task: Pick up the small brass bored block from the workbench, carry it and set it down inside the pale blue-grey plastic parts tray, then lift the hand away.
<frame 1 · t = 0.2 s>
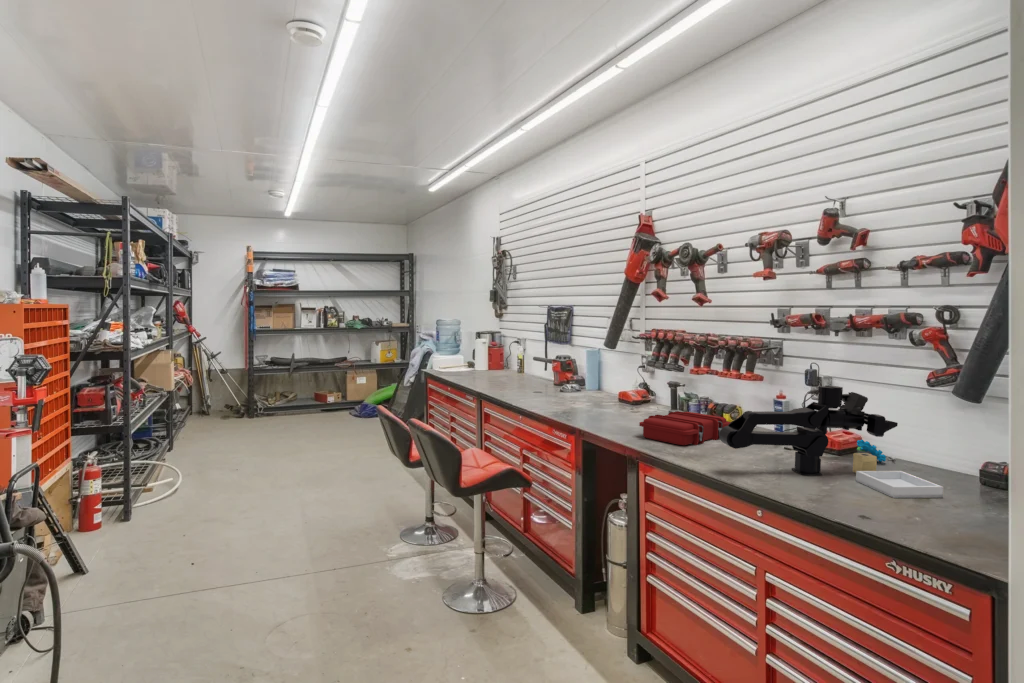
hand: (886, 420, 183), 16 cm above the workbench, fingers open, 9 cm apart
blue plastic figure: (869, 461, 198), on the workbench
parts tray: (897, 488, 166), on the workbench
brass block: (864, 473, 182), on the workbench
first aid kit: (684, 438, 234), on the workbench
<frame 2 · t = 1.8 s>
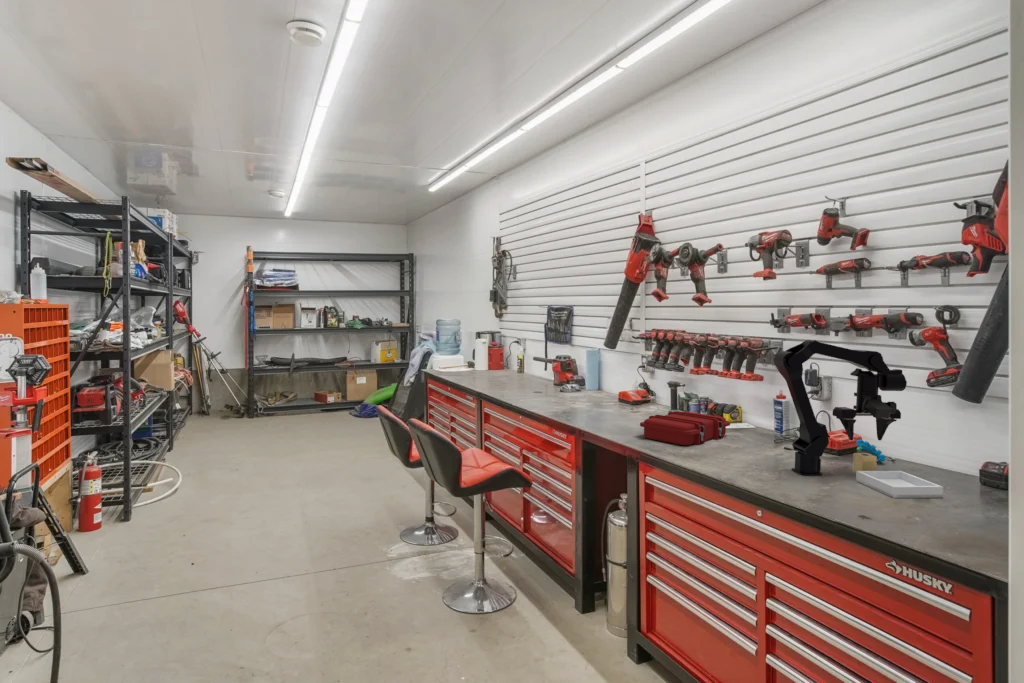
hand: (865, 440, 182), 11 cm above the workbench, fingers open, 9 cm apart
nothing on the workbench moved.
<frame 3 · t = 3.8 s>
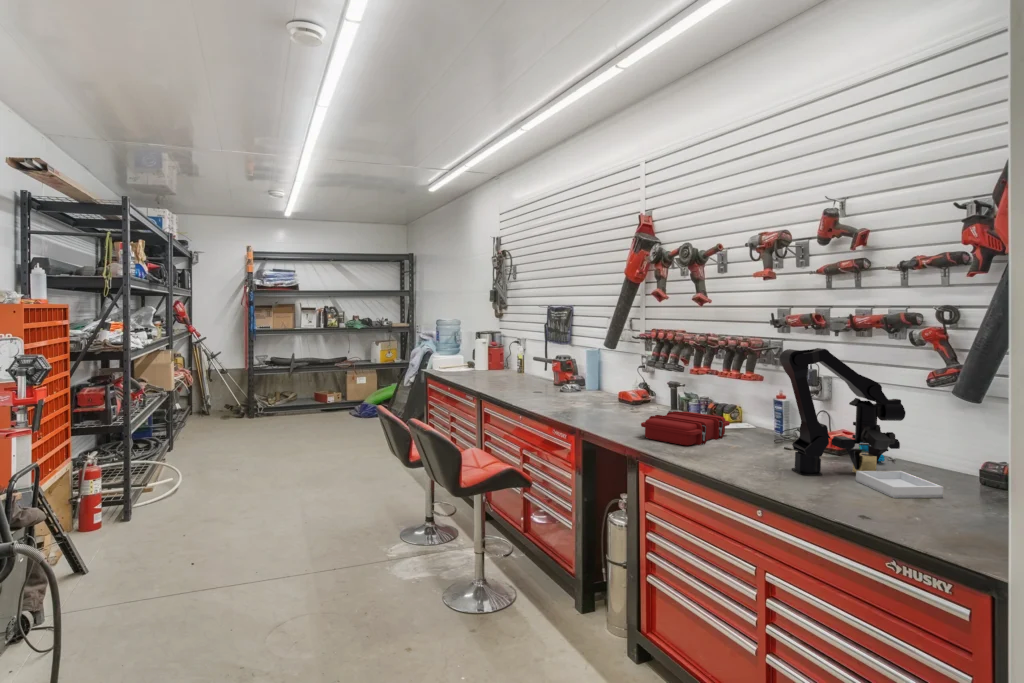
hand: (864, 469, 182), 1 cm above the workbench, fingers closed on brass block, 4 cm apart
brass block: (864, 473, 182), on the workbench, touching gripper
everything else where it was.
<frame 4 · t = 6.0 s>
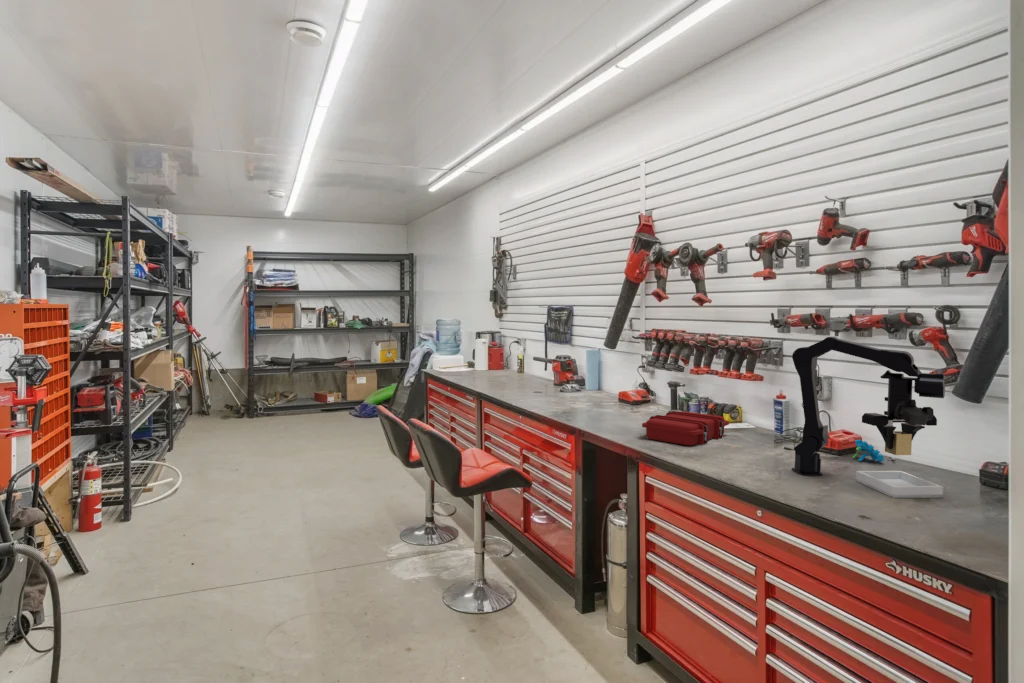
hand: (897, 449, 167), 11 cm above the workbench, fingers closed on brass block, 4 cm apart
brass block: (897, 453, 167), point 10 cm above the workbench, touching gripper
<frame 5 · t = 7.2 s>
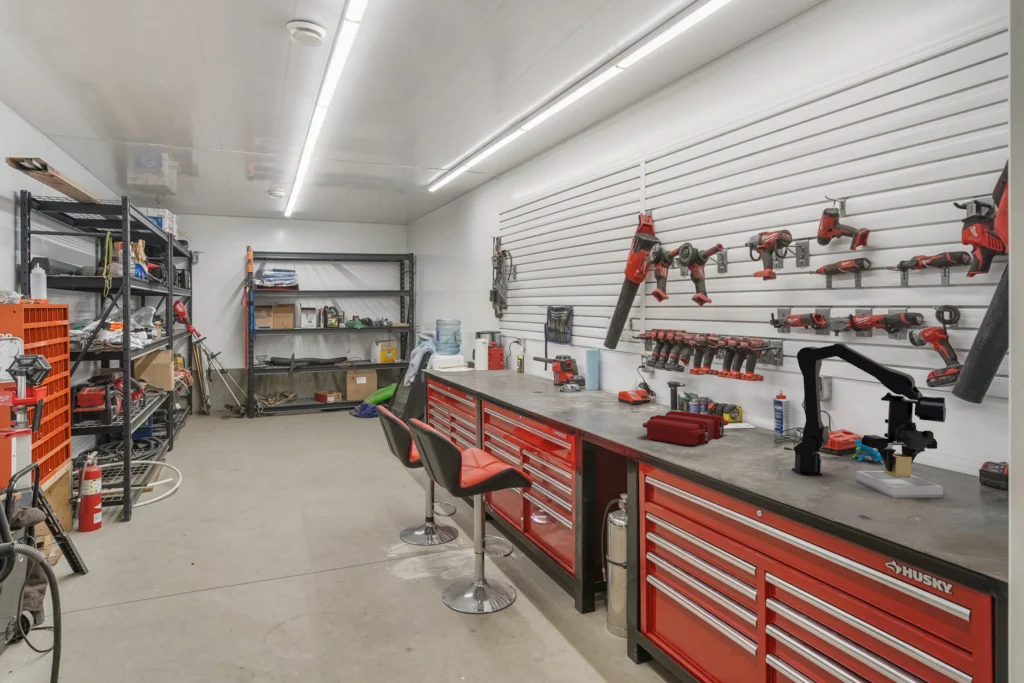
hand: (897, 471, 166), 5 cm above the workbench, fingers closed on brass block, 4 cm apart
brass block: (897, 475, 166), point 4 cm above the workbench, touching gripper
when the fingers open (3 cm above the workbench, at t = 8.3 s): brass block drops 1 cm, resting on parts tray.
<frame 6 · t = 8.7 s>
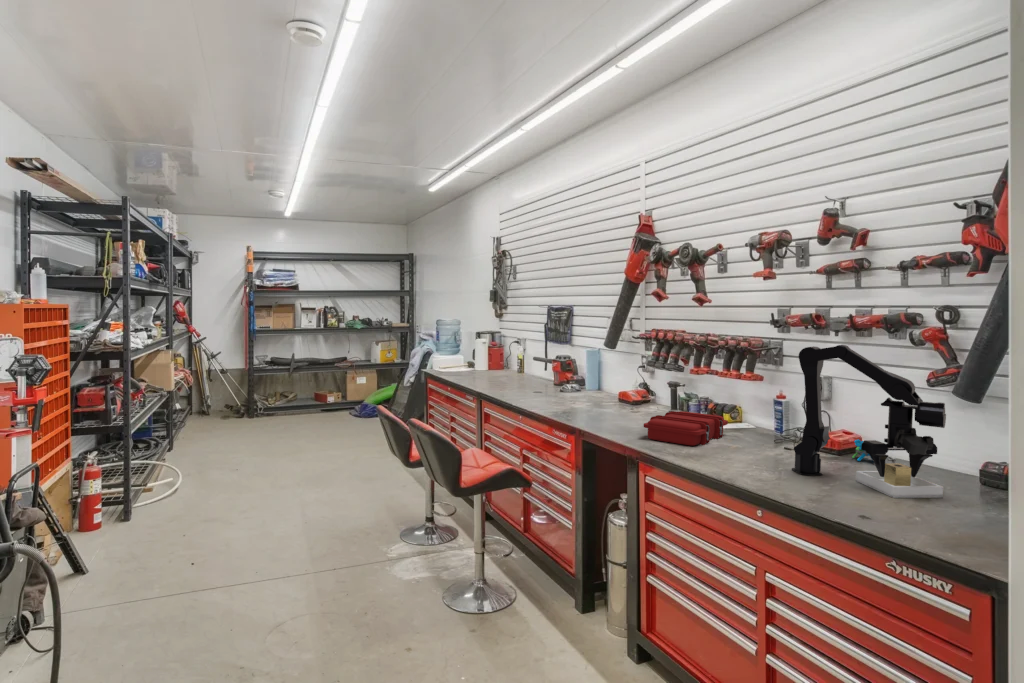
hand: (897, 476, 166), 3 cm above the workbench, fingers open, 9 cm apart
brass block: (897, 486, 166), point 1 cm above the workbench, touching parts tray
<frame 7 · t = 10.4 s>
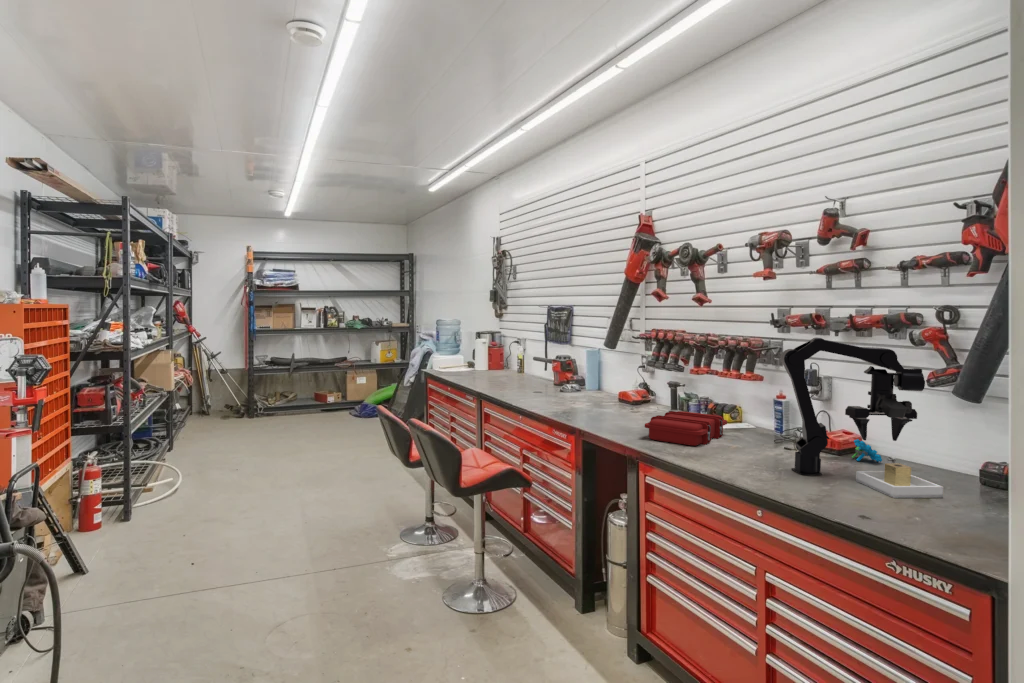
hand: (879, 440, 177), 12 cm above the workbench, fingers open, 9 cm apart
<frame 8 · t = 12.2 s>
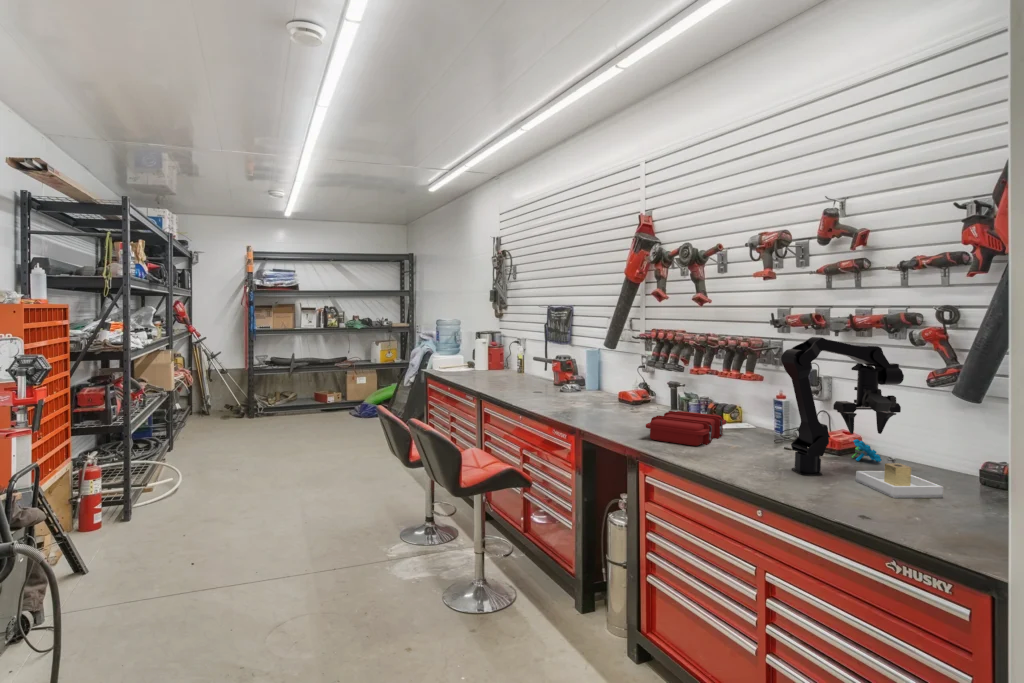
hand: (865, 433, 185), 12 cm above the workbench, fingers open, 9 cm apart
at the end: brass block inside the target area on the parts tray (0.1 cm from its centre), point 0.8 cm above the parts tray's base; brass block tilted 0°; the gripper is holding nothing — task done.
